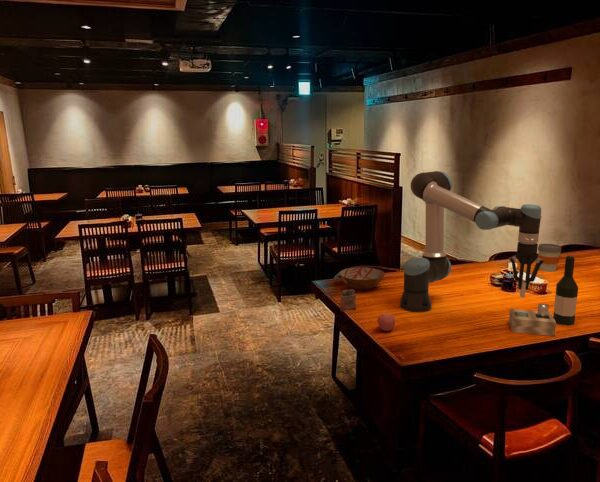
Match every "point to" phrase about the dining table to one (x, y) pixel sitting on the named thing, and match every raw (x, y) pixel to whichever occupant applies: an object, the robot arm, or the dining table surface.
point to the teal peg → (521, 314)
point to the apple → (386, 321)
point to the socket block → (531, 323)
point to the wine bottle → (566, 295)
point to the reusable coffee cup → (549, 256)
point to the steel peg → (543, 310)
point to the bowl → (361, 277)
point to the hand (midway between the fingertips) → (522, 296)
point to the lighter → (347, 300)
